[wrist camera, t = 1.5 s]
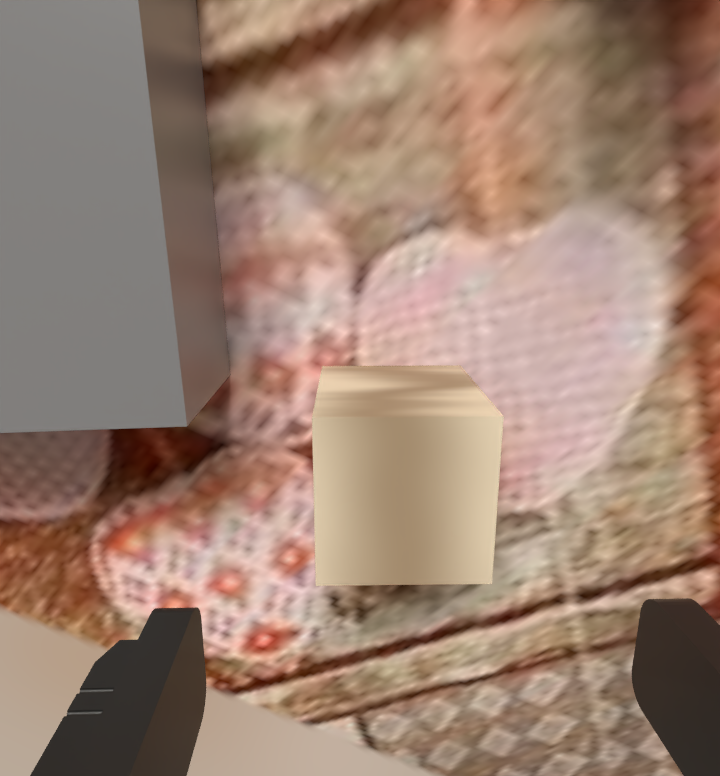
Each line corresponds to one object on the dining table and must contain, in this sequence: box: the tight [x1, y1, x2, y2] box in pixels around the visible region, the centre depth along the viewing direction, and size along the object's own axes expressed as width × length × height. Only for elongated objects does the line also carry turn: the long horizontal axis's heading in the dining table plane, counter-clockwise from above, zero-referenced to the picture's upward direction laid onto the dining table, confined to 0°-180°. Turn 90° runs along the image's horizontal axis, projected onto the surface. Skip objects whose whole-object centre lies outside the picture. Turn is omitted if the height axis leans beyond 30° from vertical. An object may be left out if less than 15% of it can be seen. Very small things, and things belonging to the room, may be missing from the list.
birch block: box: [312, 366, 504, 586], centre depth 18 cm, size 5×5×6 cm
